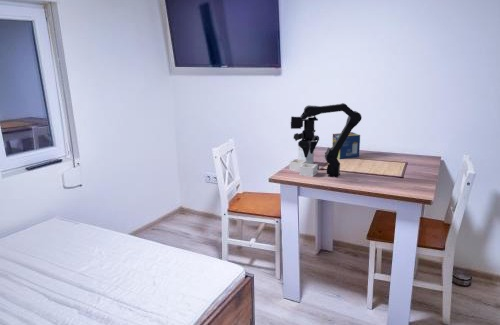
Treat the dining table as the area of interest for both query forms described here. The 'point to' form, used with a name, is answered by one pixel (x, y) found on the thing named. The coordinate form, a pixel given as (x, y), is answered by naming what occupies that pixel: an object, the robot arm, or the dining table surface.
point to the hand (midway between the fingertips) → (308, 155)
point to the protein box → (348, 146)
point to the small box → (301, 156)
